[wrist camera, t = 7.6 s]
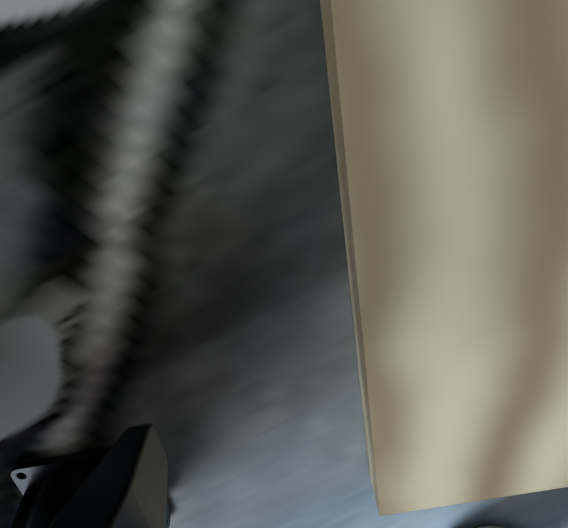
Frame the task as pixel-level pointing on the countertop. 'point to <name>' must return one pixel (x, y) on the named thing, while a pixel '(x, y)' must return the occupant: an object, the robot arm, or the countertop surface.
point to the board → (455, 240)
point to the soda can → (491, 527)
